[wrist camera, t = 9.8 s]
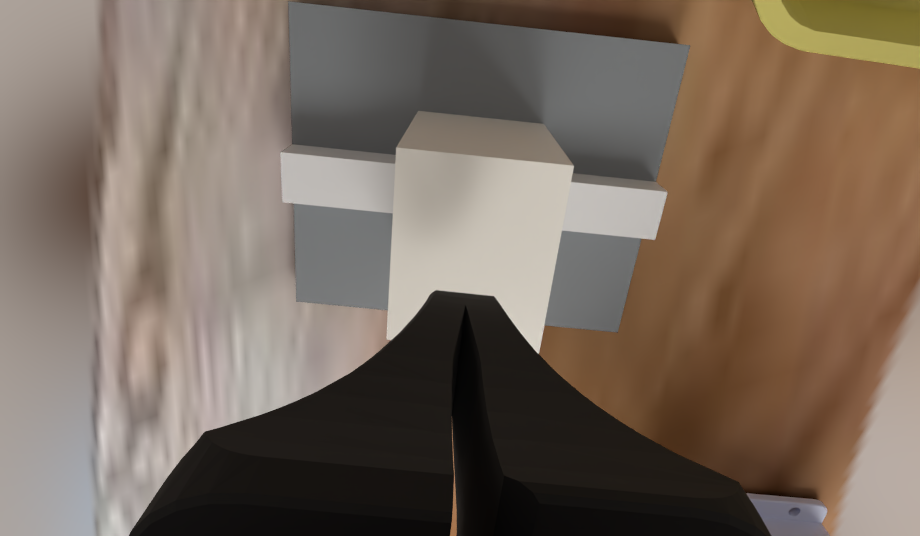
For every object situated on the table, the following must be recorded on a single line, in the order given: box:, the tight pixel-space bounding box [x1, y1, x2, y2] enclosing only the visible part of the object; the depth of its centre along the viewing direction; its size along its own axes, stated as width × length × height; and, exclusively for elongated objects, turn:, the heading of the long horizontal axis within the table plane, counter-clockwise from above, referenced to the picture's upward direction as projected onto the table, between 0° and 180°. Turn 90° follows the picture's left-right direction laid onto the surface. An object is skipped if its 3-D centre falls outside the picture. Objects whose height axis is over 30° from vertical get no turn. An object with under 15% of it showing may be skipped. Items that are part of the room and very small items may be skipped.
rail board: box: [280, 1, 690, 332], centre depth 18 cm, size 12×10×2 cm
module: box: [386, 111, 574, 354], centre depth 16 cm, size 4×5×6 cm
